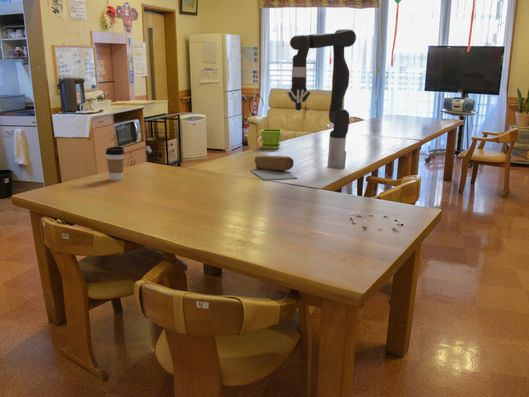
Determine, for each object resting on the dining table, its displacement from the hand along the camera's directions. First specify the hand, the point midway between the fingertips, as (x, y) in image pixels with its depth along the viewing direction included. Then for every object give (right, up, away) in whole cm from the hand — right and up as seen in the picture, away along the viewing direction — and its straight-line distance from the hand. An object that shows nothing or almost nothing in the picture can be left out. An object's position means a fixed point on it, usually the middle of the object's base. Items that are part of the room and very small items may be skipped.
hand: (298, 110), depth 254 cm
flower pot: (-13, -11, +85) cm, 87 cm away
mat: (-13, -34, -2) cm, 37 cm away
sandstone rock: (-4, -28, +3) cm, 28 cm away
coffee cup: (-88, -37, -25) cm, 99 cm away
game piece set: (+23, -55, -75) cm, 96 cm away
